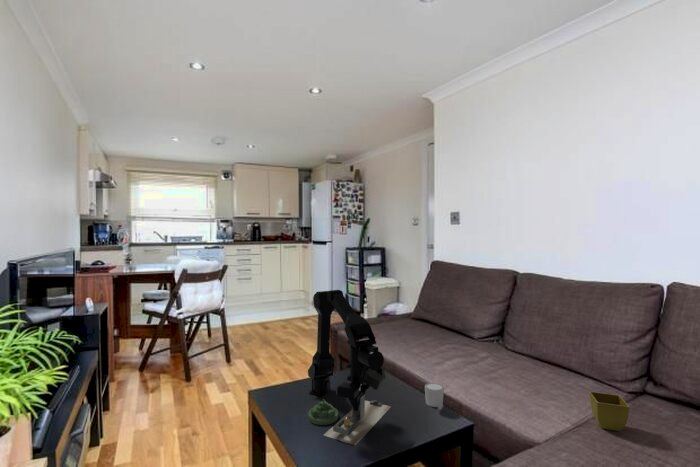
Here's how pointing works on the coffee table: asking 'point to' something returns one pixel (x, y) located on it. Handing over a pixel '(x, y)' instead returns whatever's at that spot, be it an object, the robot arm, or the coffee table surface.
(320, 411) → the decorative artifact
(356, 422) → the end link
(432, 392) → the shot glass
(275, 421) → the coffee table surface
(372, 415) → the tie-down board
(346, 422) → the keeper post
